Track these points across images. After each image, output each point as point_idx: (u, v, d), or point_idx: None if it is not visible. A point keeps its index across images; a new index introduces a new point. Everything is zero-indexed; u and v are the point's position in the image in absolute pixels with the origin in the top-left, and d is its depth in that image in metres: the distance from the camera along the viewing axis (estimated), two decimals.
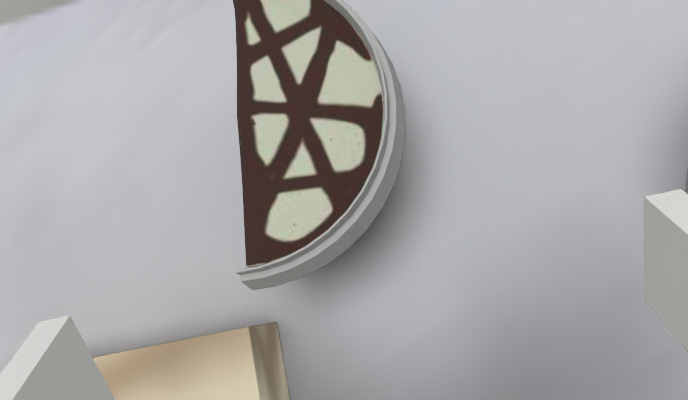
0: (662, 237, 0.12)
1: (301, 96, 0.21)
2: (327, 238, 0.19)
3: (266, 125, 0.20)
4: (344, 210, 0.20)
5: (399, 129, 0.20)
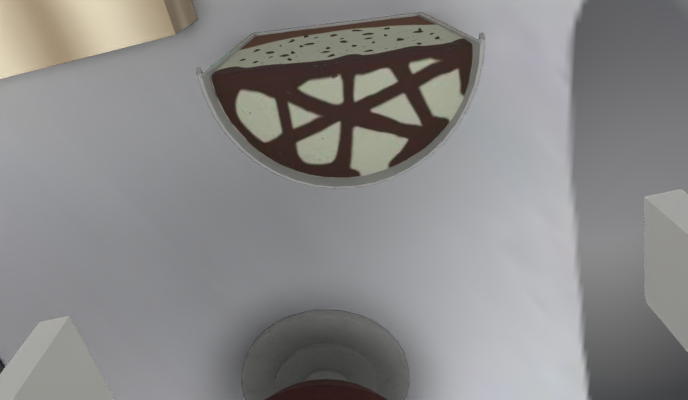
0: (662, 237, 0.12)
1: (359, 112, 0.24)
2: None
3: (332, 87, 0.24)
4: (264, 152, 0.25)
5: None
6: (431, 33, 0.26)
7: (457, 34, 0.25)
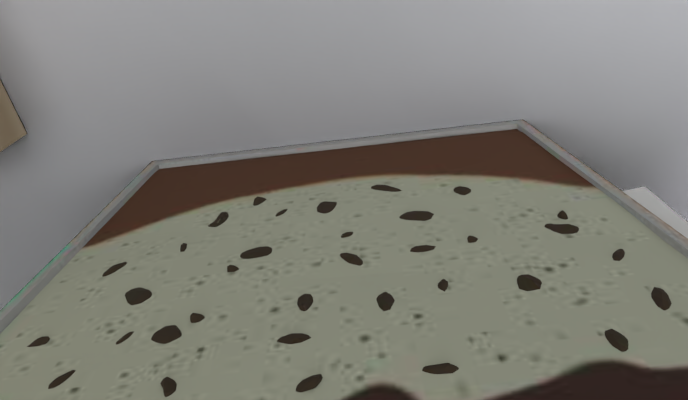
0: None
1: None
2: None
3: None
4: None
5: None
6: (618, 254, 0.09)
7: None
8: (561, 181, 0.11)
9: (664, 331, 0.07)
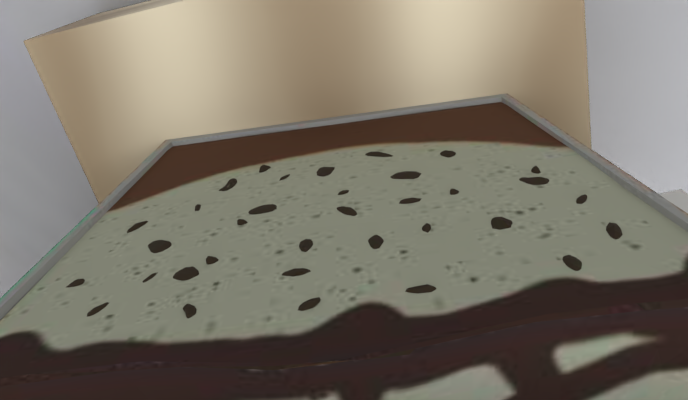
0: None
1: None
2: None
3: None
4: None
5: None
6: (581, 198, 0.10)
7: (669, 217, 0.09)
8: (537, 143, 0.12)
9: (613, 255, 0.08)
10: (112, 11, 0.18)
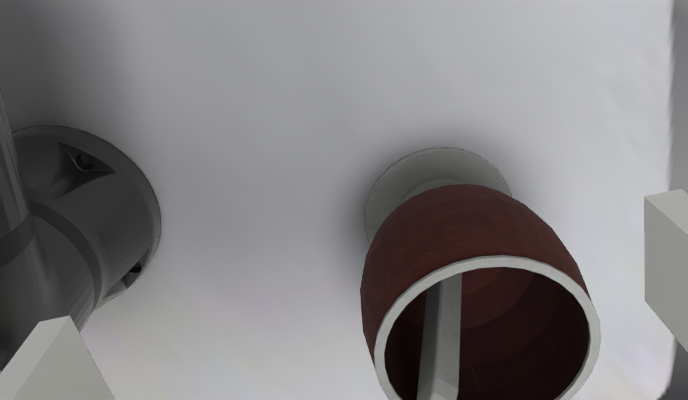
0: (662, 237, 0.12)
1: None
2: None
3: None
4: None
5: None
6: None
7: None
8: None
9: None
10: None
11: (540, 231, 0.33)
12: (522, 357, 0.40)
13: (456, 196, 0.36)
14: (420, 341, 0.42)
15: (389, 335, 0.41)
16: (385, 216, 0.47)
